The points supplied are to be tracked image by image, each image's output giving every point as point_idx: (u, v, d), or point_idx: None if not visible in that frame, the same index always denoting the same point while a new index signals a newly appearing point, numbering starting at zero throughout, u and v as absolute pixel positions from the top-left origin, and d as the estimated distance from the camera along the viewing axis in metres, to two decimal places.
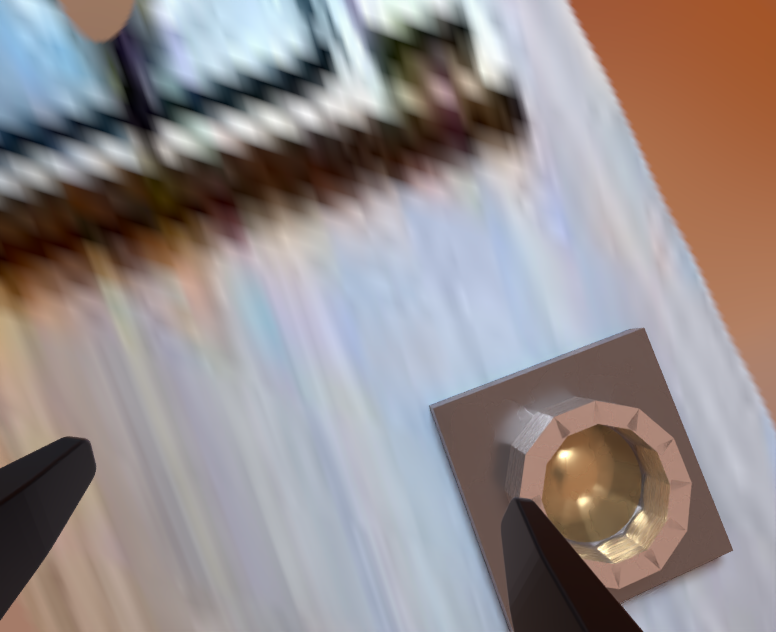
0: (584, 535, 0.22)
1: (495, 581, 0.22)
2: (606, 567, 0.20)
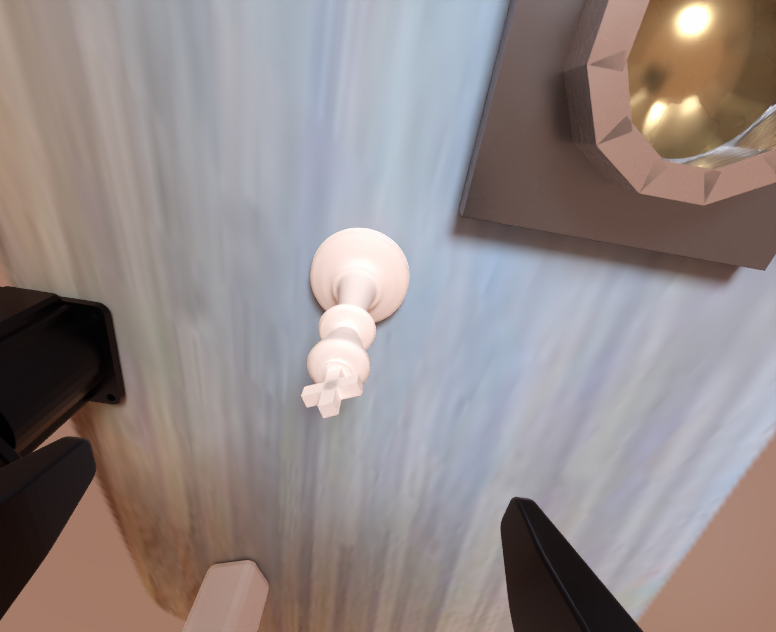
0: None
1: (487, 120, 0.15)
2: (649, 155, 0.13)
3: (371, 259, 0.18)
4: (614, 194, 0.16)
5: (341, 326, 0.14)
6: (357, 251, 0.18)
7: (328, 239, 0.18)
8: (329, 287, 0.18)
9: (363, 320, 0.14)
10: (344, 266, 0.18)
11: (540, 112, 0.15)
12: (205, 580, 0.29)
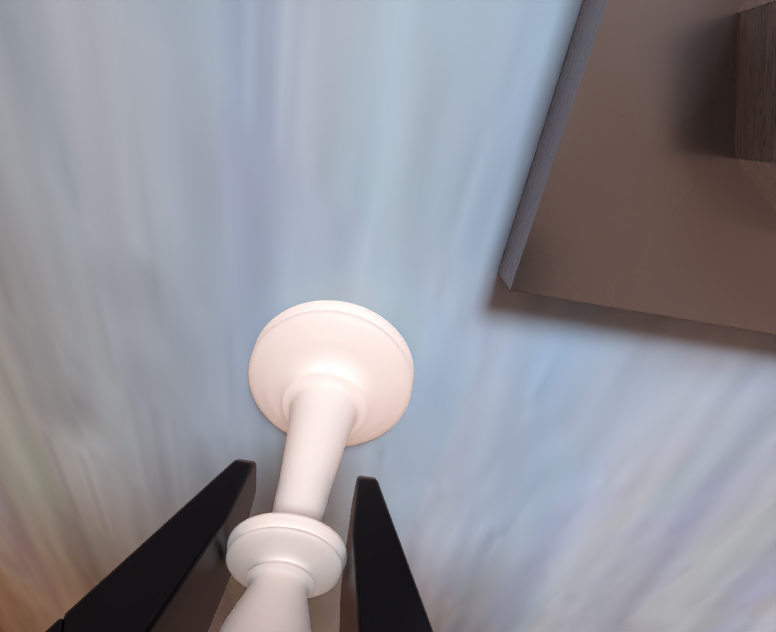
0: None
1: (568, 115, 0.08)
2: None
3: (348, 358, 0.10)
4: None
5: (267, 573, 0.06)
6: (323, 345, 0.10)
7: (276, 319, 0.11)
8: (279, 399, 0.11)
9: (317, 550, 0.06)
10: (302, 370, 0.10)
11: (678, 99, 0.07)
12: None
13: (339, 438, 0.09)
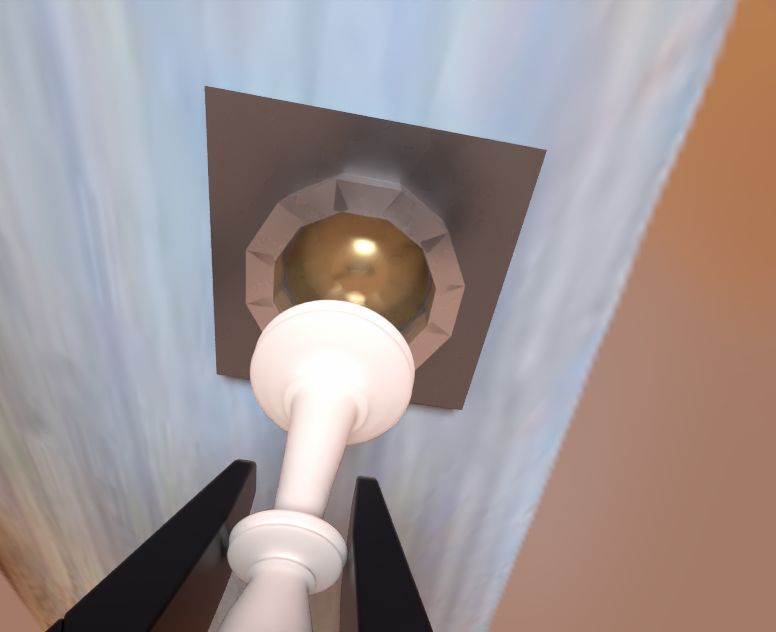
0: None
1: (215, 314, 0.20)
2: None
3: (350, 357, 0.10)
4: None
5: (268, 569, 0.06)
6: (325, 344, 0.10)
7: (279, 318, 0.11)
8: (280, 397, 0.11)
9: (318, 547, 0.06)
10: (303, 368, 0.10)
11: None
12: None
13: (340, 437, 0.09)
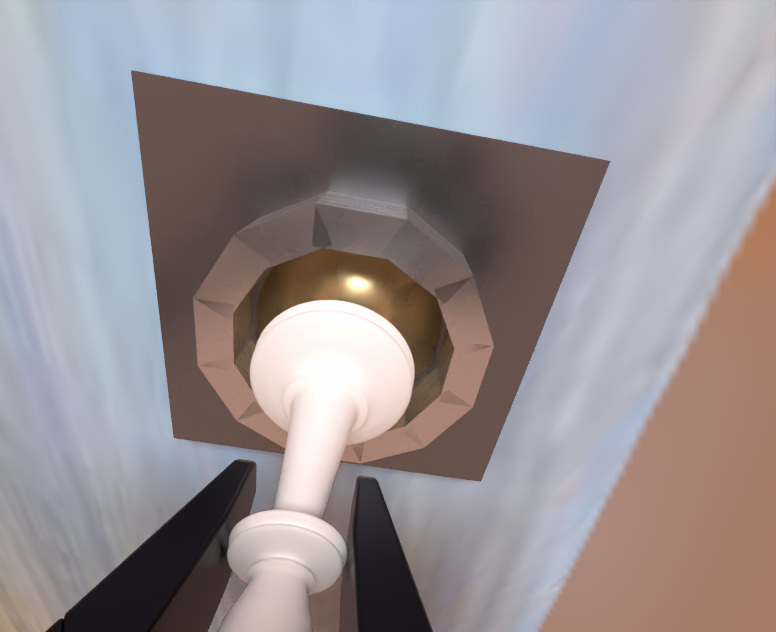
0: None
1: (168, 367, 0.15)
2: None
3: (349, 357, 0.10)
4: None
5: (268, 570, 0.06)
6: (325, 344, 0.10)
7: (279, 318, 0.11)
8: (280, 397, 0.11)
9: (318, 547, 0.06)
10: (303, 368, 0.10)
11: None
12: None
13: (340, 437, 0.09)
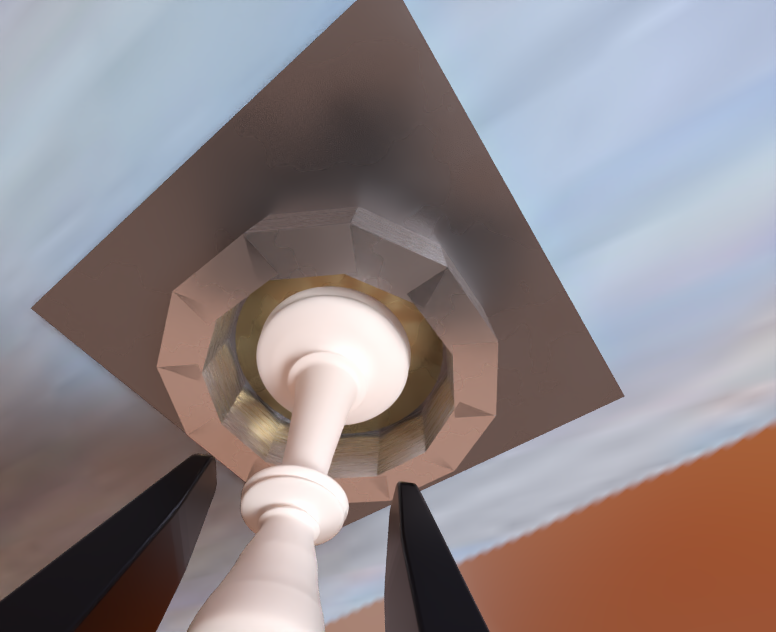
0: (252, 369, 0.13)
1: (105, 241, 0.11)
2: (208, 412, 0.11)
3: (351, 339, 0.11)
4: None
5: (278, 516, 0.07)
6: (328, 326, 0.11)
7: (285, 302, 0.12)
8: (285, 377, 0.12)
9: (323, 498, 0.07)
10: (307, 349, 0.11)
11: (167, 280, 0.12)
12: None
13: (341, 410, 0.10)
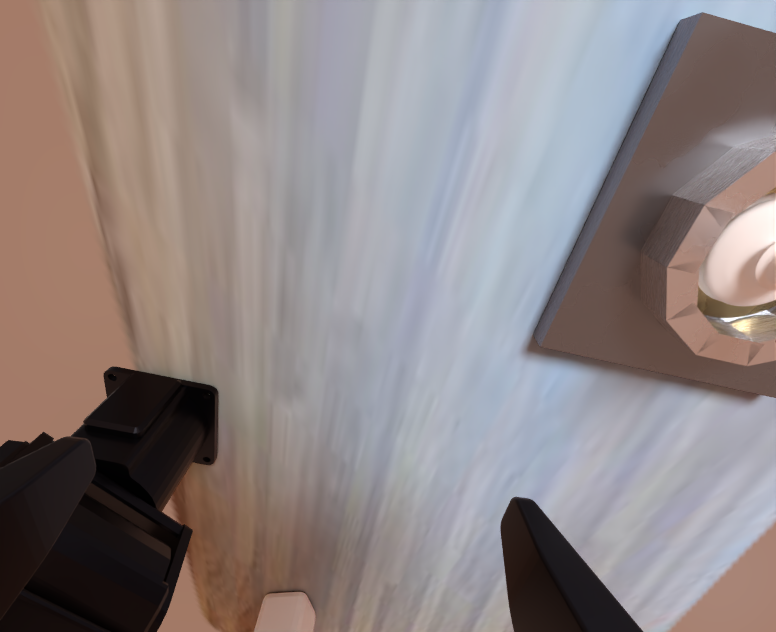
0: None
1: (572, 280, 0.18)
2: (708, 330, 0.17)
3: None
4: (669, 339, 0.19)
5: None
6: (762, 228, 0.15)
7: None
8: (741, 280, 0.16)
9: None
10: (755, 251, 0.16)
11: (616, 278, 0.18)
12: (263, 609, 0.32)
13: None
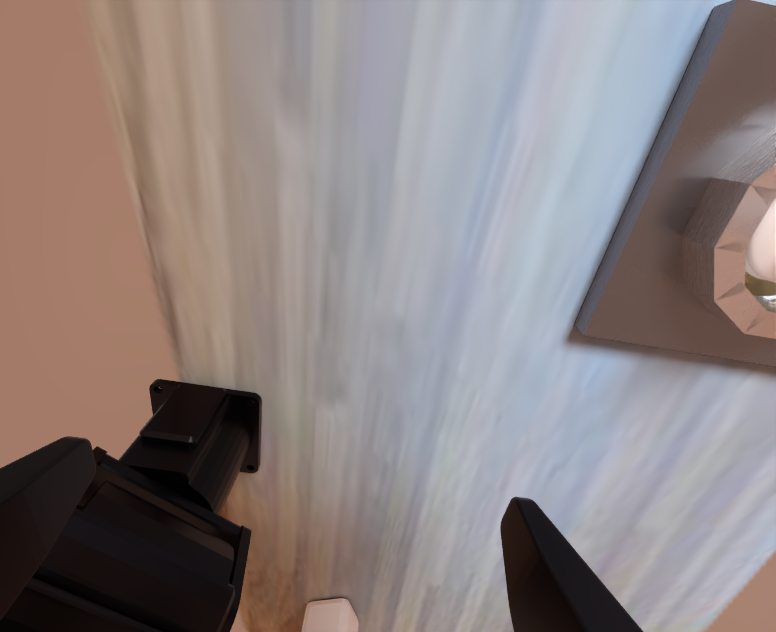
0: None
1: (614, 267, 0.18)
2: (756, 308, 0.17)
3: None
4: (712, 320, 0.19)
5: None
6: None
7: None
8: None
9: None
10: None
11: (659, 262, 0.18)
12: (306, 617, 0.32)
13: None
